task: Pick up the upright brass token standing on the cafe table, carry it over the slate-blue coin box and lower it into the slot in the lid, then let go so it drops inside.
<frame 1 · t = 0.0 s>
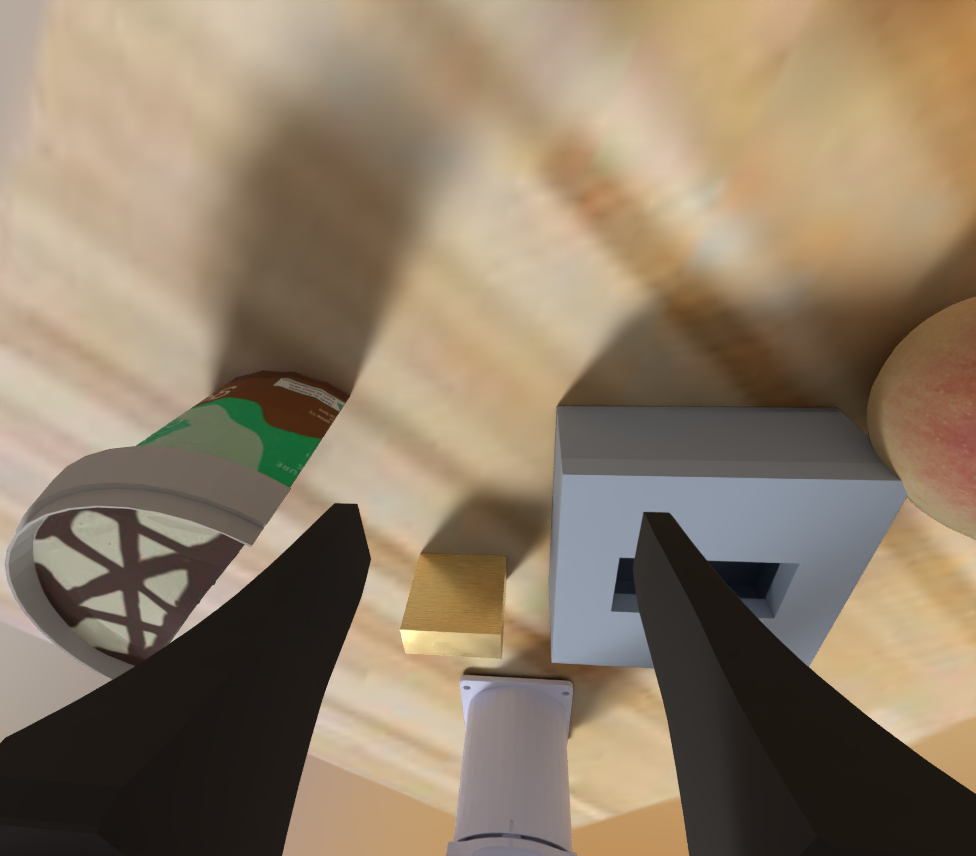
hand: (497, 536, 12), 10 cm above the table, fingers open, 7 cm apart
food container: (251, 419, 23), on the table
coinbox: (670, 508, 24), on the table
apple: (947, 363, 19), on the table, touching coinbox
token: (463, 566, 28), on the table
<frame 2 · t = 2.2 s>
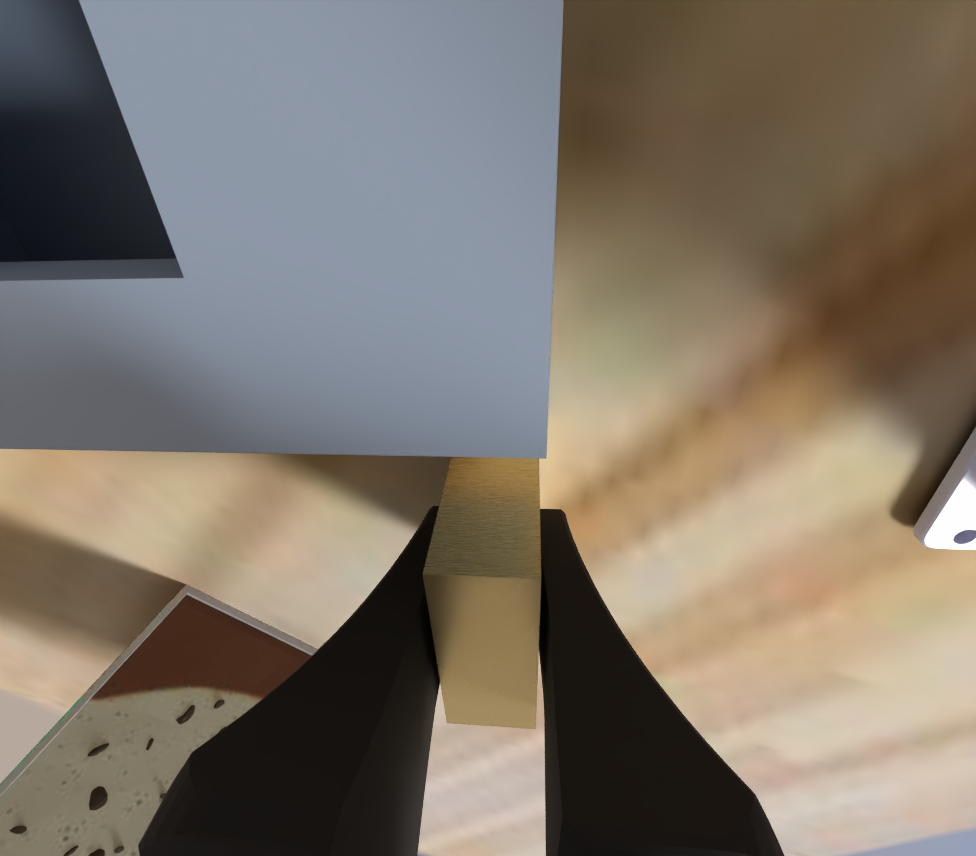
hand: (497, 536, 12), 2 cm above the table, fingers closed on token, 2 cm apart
food container: (269, 666, 20), on the table
token: (501, 494, 13), on the table, touching gripper
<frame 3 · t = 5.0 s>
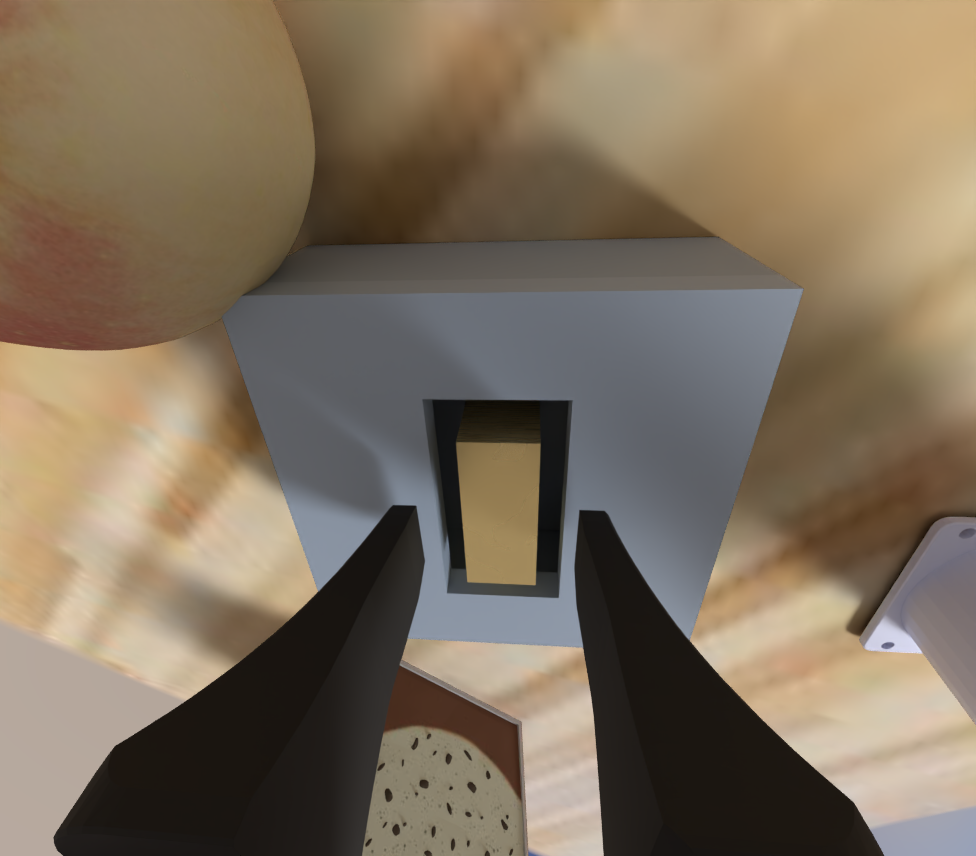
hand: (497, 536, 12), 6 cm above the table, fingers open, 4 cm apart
food container: (431, 705, 29), on the table
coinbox: (507, 416, 17), on the table
apple: (201, 112, 13), on the table, touching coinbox
token: (508, 421, 17), resting on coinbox
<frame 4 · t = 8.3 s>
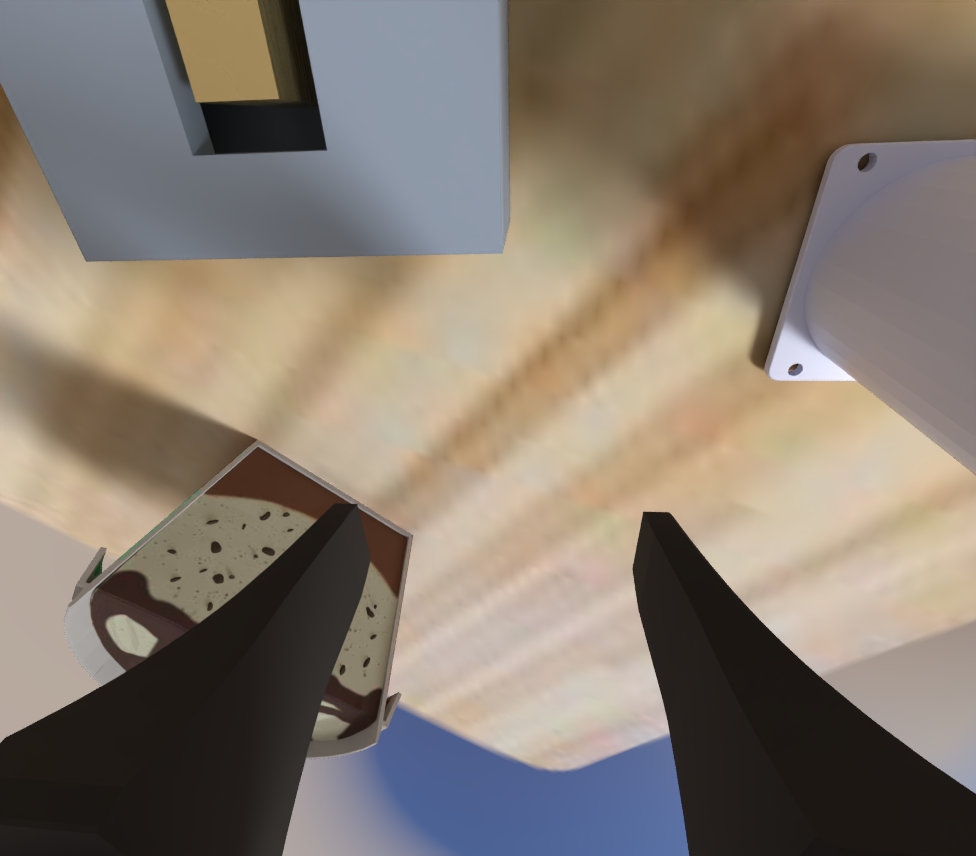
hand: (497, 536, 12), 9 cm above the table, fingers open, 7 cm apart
food container: (313, 519, 26), on the table
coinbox: (305, 8, 14), on the table
token: (300, 2, 14), resting on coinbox
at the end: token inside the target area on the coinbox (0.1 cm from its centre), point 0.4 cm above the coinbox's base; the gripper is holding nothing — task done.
